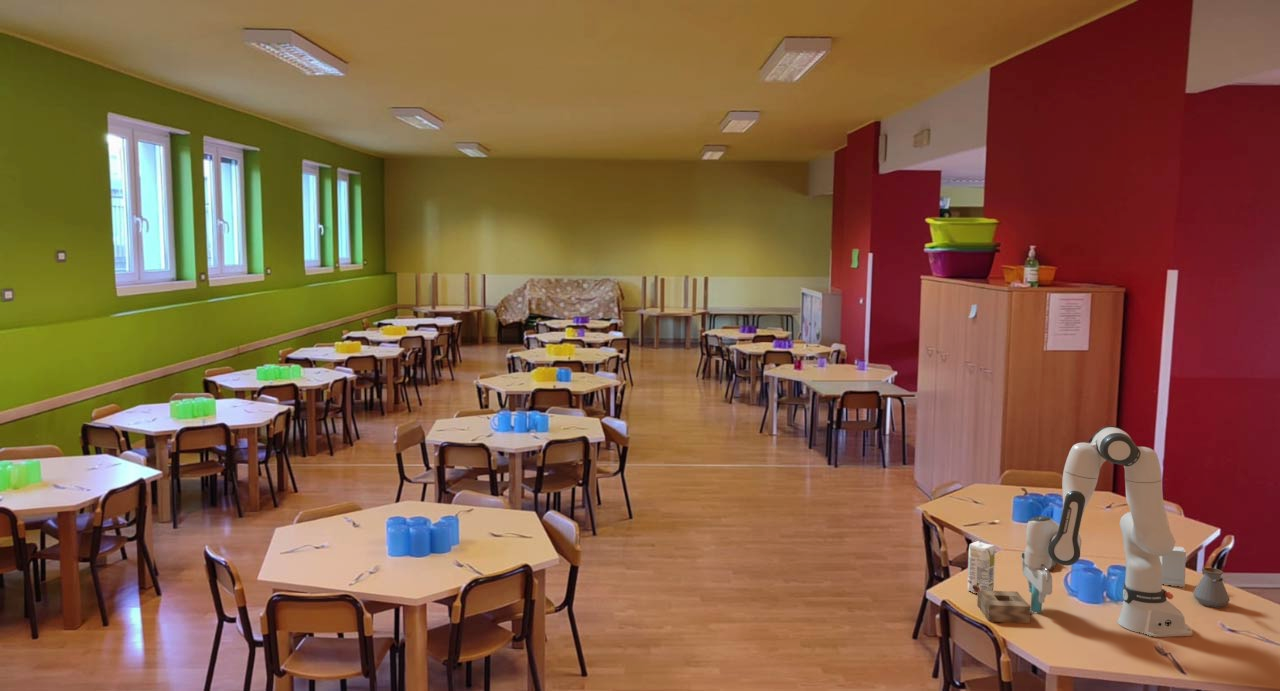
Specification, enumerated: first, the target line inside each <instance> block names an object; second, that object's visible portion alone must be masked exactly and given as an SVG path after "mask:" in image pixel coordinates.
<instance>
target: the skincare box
mask: <svg viewBox="0 0 1280 691" xmlns="http://www.w3.org/2000/svg"><path fill="white" fill-rule="evenodd" d="M1186 557H1187V551H1186V549H1185V548H1184V547H1183V546H1174V549H1173V550H1172V551H1171V552H1170V553H1169V554H1167V555H1165V556H1159V558H1160V561H1161V564H1162V567H1163V574H1162V584H1164V585H1163V586H1168V585H1171V586H1170V587H1177V586H1179V587H1178V588H1186V562H1187V561H1186Z"/></svg>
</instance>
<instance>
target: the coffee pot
mask: <svg viewBox="0 0 1280 691" xmlns="http://www.w3.org/2000/svg"><path fill="white" fill-rule="evenodd" d="M1201 571H1202V573H1203V576H1202V577H1201V579H1200V580H1199V582H1198V583H1197V585H1196V587H1195V588H1194V590H1193V591H1192V596H1193V598H1194V599H1195V600H1196V601H1198V603H1199V604H1201V605H1202V606H1206V607H1209V608H1216V609H1217V608H1223V607H1224V606H1227V604H1229V602H1230V600H1231V599H1230V596H1229V594H1228V591H1227V589H1226V587H1225V583H1224V582H1223V581H1225V578H1222V575H1223V574H1224V572H1223V570H1221V569H1218V568H1216V567H1202V568H1201Z"/></svg>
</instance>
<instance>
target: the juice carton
mask: <svg viewBox="0 0 1280 691" xmlns="http://www.w3.org/2000/svg"><path fill="white" fill-rule="evenodd" d="M967 555H968V557H967V591H968V592H969V591H971V592H970V593H972V592H974V593H973V594H976V593H977V594H976V595H978V590H986V591H994V588H995V566H996V565H995V564H996V563H995V562H996V546H995V545H994V544H990V543H985V542H981V541H979V540H977V541H974V542H972V543H971V542H970V543H969V546H968V554H967Z"/></svg>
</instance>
